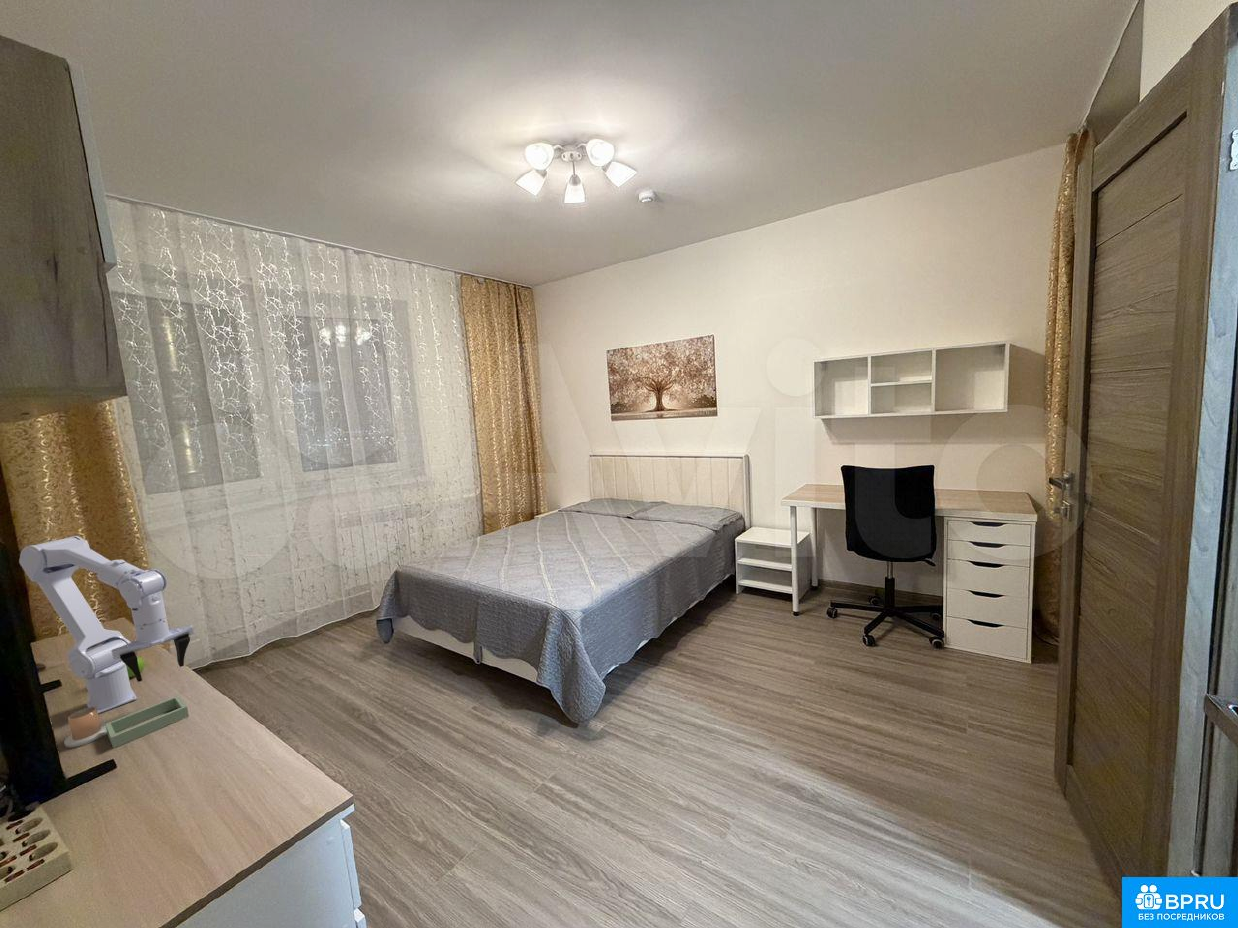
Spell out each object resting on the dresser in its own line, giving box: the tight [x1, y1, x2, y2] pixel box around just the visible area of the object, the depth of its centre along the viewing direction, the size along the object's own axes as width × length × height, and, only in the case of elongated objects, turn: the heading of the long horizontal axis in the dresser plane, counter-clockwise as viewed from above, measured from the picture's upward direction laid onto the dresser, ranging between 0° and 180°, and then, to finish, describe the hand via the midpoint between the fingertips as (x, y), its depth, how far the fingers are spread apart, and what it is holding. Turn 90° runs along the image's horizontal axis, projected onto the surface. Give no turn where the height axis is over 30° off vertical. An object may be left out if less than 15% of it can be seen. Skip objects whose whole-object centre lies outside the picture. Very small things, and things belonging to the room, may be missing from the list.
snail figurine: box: [126, 635, 146, 678], centre depth 134 cm, size 5×6×12 cm
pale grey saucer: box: [63, 722, 108, 749], centre depth 109 cm, size 7×7×1 cm
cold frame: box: [105, 695, 190, 749], centre depth 111 cm, size 9×13×2 cm
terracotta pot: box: [67, 707, 101, 740], centre depth 108 cm, size 4×4×5 cm
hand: (160, 672), depth 119 cm, fingers open, 7 cm apart
